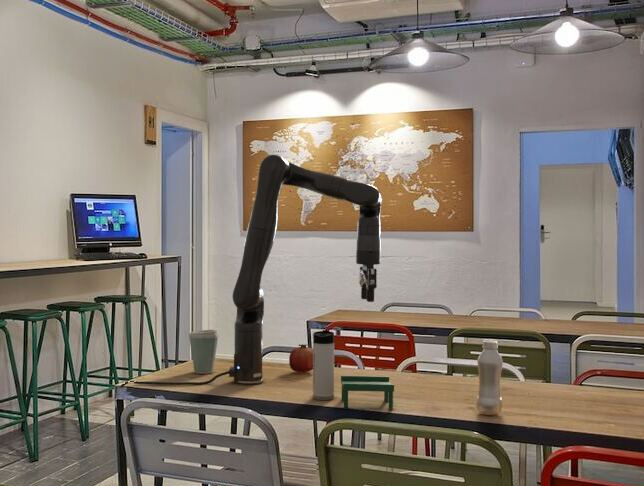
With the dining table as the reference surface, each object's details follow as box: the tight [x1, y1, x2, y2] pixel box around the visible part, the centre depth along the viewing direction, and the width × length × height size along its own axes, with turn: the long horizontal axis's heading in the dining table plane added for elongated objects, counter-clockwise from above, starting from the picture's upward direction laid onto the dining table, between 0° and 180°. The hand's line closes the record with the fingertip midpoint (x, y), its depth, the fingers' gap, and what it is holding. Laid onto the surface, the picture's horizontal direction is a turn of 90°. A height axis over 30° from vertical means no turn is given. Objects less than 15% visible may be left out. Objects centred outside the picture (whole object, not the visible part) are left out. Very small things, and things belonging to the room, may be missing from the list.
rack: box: [340, 375, 395, 411], centre depth 213 cm, size 14×12×7 cm
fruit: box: [288, 343, 313, 374], centre depth 262 cm, size 11×10×10 cm
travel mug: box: [312, 329, 335, 401], centre depth 221 cm, size 6×7×20 cm
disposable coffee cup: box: [188, 329, 219, 375], centre depth 263 cm, size 11×11×15 cm
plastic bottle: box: [475, 339, 504, 416], centre depth 201 cm, size 6×7×20 cm
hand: (367, 300), depth 234 cm, fingers open, 8 cm apart
